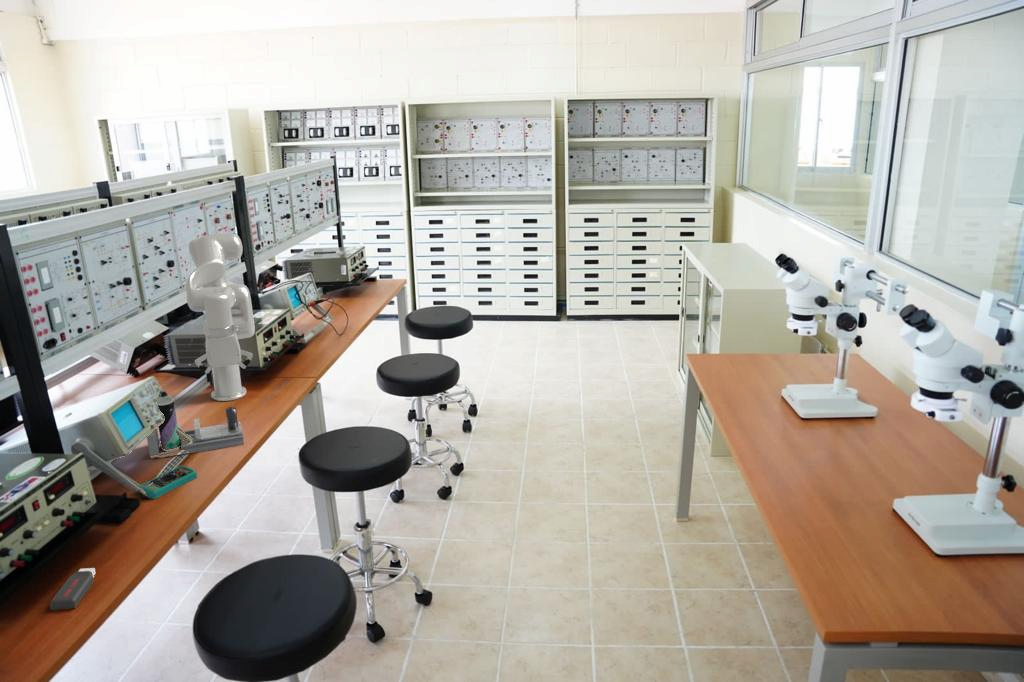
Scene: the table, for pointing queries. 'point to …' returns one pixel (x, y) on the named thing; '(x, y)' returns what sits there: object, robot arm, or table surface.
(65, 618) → the table surface
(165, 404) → the spray can
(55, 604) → the usb drive
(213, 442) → the vise frame
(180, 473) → the digital multimeter
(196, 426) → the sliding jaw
